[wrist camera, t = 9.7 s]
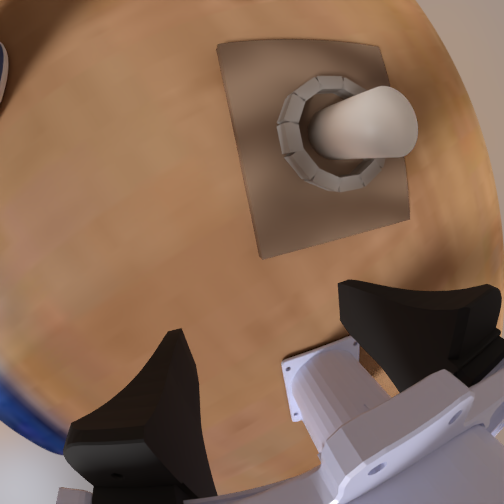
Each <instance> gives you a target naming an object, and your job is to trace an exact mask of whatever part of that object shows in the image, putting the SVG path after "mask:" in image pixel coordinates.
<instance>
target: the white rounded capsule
mask: <svg viewBox="0 0 504 504" xmlns="http://www.w3.org/2000/svg"><path fill="white" fill-rule="evenodd" d="M308 136H309V140H310V143H311V145H312V147H313V148H314V149H315V151H316V152H317V153H318V154H319V155H321V156H322V157H324V158H326V159H330V160H344V159H362V158H394V157H403V156H405V155H407V154H409V153H410V152H411V151H412V149H413V148H414V146H415V144H416V141H417V137H418V123H417V118H416V115H415V112H414V110H413V108H412V106H411V104H410V103H409V101H408V100H407V99H406V97H405V96H404V95H403V94H402V93H400V92H399V91H397V90H396V89H394V88H392V87H388V86H379V87H376V88H373V89H370V90H368V91H365V92H362V93H360V94H357V95H355V96H352V97H350V98H347V99H345V100H343V101H340V102H338V103H335V104H333V105H331V106H328V107H326V108H324V109H321V110H319V111H318V112H316V113H315V114H314V115H313V116H312V118H311V119H310V122H309V125H308Z"/></svg>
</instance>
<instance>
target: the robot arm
mask: <svg viewBox="0 0 504 504" xmlns="http://www.w3.org/2000/svg"><path fill="white" fill-rule="evenodd" d="M338 293H339V308H340V321H341V322H342V324H343V325H344V327H345V328H346V330H347V331H348V332H349V334H350V336H348V337H345V338H343V339H340V340H337V341H335V342H332V343H330V344H327V345H324V346H322V347H319V348H316V349H314V350H311V351H308V352H305V353H302V354H299V355H296V356H293V357H290V358H287V359H285V360H283V361H282V363H281V366H282V371H283V376H284V382H285V387H286V392H287V397H288V403H289V408H290V413H291V418H292V421H294V422H297V421H300V420H303V422H304V424H305V426H306V428H307V430H308V432H309V434H310V436H311V438H312V440H313V442H314V444H315V446H316V448H317V450H318V451H319V454H318V457H319V459H320V461H321V464H320V465H318V466H317V467H315V468H313V469H311V470H309V471H307V472H305V473H303V474H301V475H298V476H295V477H292V478H289V479H286V480H283V481H280V482H276V483H273V484H269V485H265V486H262V487H258V488H254V489H249V490H245V491H240V492H236V493H231V494H225V495H220V496H218V495H217V492H216V489H215V486H214V482H213V478H212V475H211V471H210V467H209V463H208V459H207V454H206V450H205V445H204V440H203V435H202V429H201V417H200V395H199V381H198V375H197V369H196V364H195V362H194V359H193V357H192V354H191V352H190V349H189V346H188V344H187V341H186V339H185V336H184V333H183V331H182V328H180V329H176V330H172V331H168V332H167V334H166V335H165V337H164V338H163V340H162V342H161V343H160V345H159V346H158V348H157V349H156V351H155V352H154V354H153V355H152V357H151V358H150V359H149V361H148V362H147V363H146V365H145V366H144V367H143V369H142V370H141V371H140V372H139V374H138V375H137V376H136V377H135V378H134V379H133V380H132V381H131V382H130V383H129V384H128V385H127V386H126V387H125V388H124V389H123V390H122V391H120V392H119V393H118V394H117V395H116V396H115V397H113V398H112V399H111V400H110V401H108V402H107V403H105V404H104V405H103V406H101V407H100V408H98V409H97V410H95V411H93V412H92V413H90V414H88V415H86V416H84V417H82V418H80V419H78V420H77V421H74V422H72V423H71V426H70V429H69V432H68V435H67V438H66V442H65V445H64V449H63V455H64V457H65V459H66V460H67V462H68V463H69V464H70V465H71V467H72V468H73V469H74V470H76V471H77V472H78V473H79V474H80V475H81V476H82V477H83V478H85V479H86V480H87V481H88V482H89V483H91V484H92V485H93V486H94V488H93V494H92V493H91V492H88V491H85V490H79V489H70V488H63V487H61V488H59V491H58V497H57V502H56V504H504V446H503V445H502V444H501V443H500V442H499V441H498V440H497V439H496V438H495V436H496V435H497V434H498V433H499V432H500V430H501V429H502V428H503V427H504V339H503V338H501V337H500V336H499V335H500V334H501V331H500V330H499V329H497V328H496V325H497V321H498V317H499V313H500V308H501V301H502V297H501V293H500V290H499V289H498V288H496V287H494V286H491V285H489V284H485V285H480V286H476V287H472V288H467V289H460V290H451V291H415V290H405V289H399V288H393V287H387V286H382V285H377V284H373V283H368V282H363V281H358V280H346V281H343V282H340V283H338ZM354 342H355V343H354ZM359 345H360V346H361V347H362V348H363V349H364V350H365V351H366V352H367V353H368V354H369V355H370V356H371V357H372V358H373V359H374V360H375V361H376V362H377V363H378V364H379V365H380V366H381V367H382V369H383V370H384V371H385V372H386V374H387V375H388V377H389V378H390V379H391V381H392V382H393V383H394V385H395V386H396V388H397V389H398V391H399V392H400V393H399V394H397V395H396V396H394V397H392V398H391V397H390V396H389V395H388V394H387V392H386V391H385V390H384V389H383V388H382V387H381V386H380V385H379V384H378V383H377V381H376V380H375V379H374V378H373V377H372V376H371V375H370V374H369V373H368V372H367V370H366V369H365V368H364V367H363V366H362V365H361V364H360V363H359ZM287 367H289V368H288V369H286V368H287Z"/></svg>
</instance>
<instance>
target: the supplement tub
mask: <svg viewBox="0 0 504 504" xmlns="http://www.w3.org/2000/svg"><path fill="white" fill-rule="evenodd" d="M7 76H8V55H7V51H6V49H5V47H4V45H3V44H2V43H1V42H0V103H1V100H2V97H3V93H4V90H5V86H6V82H7Z"/></svg>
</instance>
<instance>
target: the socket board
mask: <svg viewBox="0 0 504 504" xmlns="http://www.w3.org/2000/svg"><path fill="white" fill-rule="evenodd" d="M216 50H217V55H218V60H219V64H220V69H221V74H222V78H223V83H224V88H225V92H226V97H227V102H228V107H229V111H230V116H231V121H232V126H233V130H234V135H235V140H236V145H237V150H238V154H239V159H240V164H241V169H242V174H243V179H244V183H245V188H246V193H247V198H248V203H249V208H250V213H251V218H252V223H253V227H254V232H255V237H256V242H257V247H258V252H259V256H260V257H261V258H262V260H263V259H267V258H271V257H275V256H278V255H282V254H286V253H290V252H293V251H297V250H301V249H304V248H308V247H312V246H316V245H319V244H323V243H327V242H330V241H334V240H338V239H341V238H345V237H348V236H352V235H356V234H359V233H363V232H367V231H370V230H374V229H377V228H381V227H385V226H388V225H392V224H395V223H399V222H402V221H406V220H409V219H410V210H409V196H408V185H407V176H406V167H405V160H404V156H403V157H394V158H362V159H344V160H330V159H326V158H324V157H322V156H321V155H319V154H318V153H317V152H316V151H315V149H314V148H313V147H312V145H311V143H310V140H309V136H308V125H309V122H310V119H311V118H312V116H313V115H314V114H315V113H316V112H318V111H319V110H321V109H324V108H326V107H328V106H331V105H333V104H335V103H338V102H340V101H343V100H345V99H347V98H350V97H352V96H355V95H357V94H360V93H362V92H365V91H368V90H370V89H373V88H376V87H379V86H388V87H390V83H389V80H388V76H387V72H386V69H385V65H384V62H383V59H382V56H381V52H380V49H379V47H377V46H371V45H364V44H356V43H348V42H337V41H324V40H299V39H281V40H255V41H242V42H231V43H222V44H218V45H217V49H216Z"/></svg>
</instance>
